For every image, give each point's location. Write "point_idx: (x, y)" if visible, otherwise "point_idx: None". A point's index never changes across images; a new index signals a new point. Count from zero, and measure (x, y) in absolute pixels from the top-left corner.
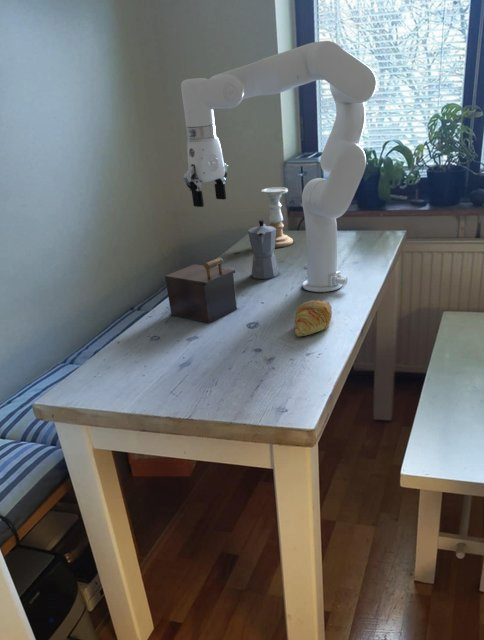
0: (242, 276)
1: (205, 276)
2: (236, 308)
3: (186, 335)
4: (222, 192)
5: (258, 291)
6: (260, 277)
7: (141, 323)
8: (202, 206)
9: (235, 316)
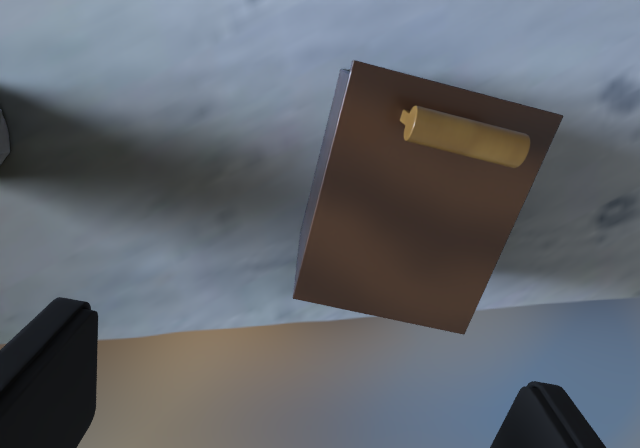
0: (12, 207)
1: (469, 163)
2: (343, 69)
3: (594, 129)
4: (45, 385)
5: (140, 70)
6: (3, 126)
7: (501, 306)
8: (548, 384)
9: (412, 39)
